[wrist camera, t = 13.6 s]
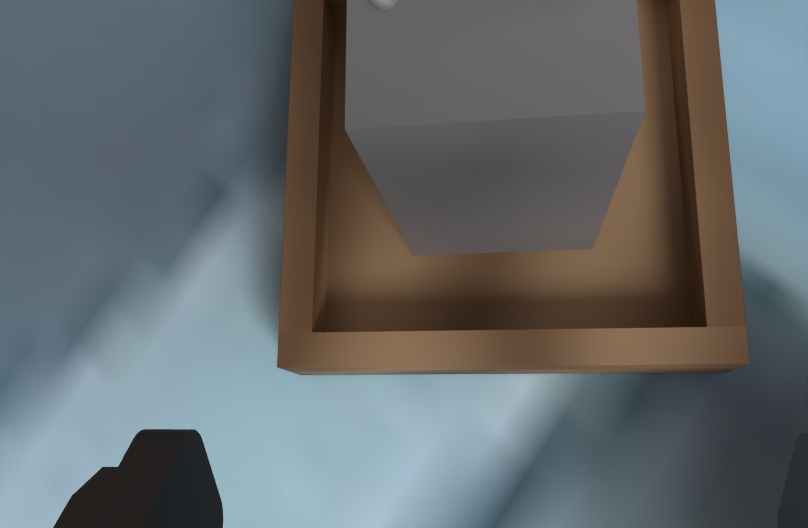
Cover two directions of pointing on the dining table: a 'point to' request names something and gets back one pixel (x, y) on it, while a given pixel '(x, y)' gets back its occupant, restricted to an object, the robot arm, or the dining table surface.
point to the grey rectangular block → (494, 117)
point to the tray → (518, 271)
